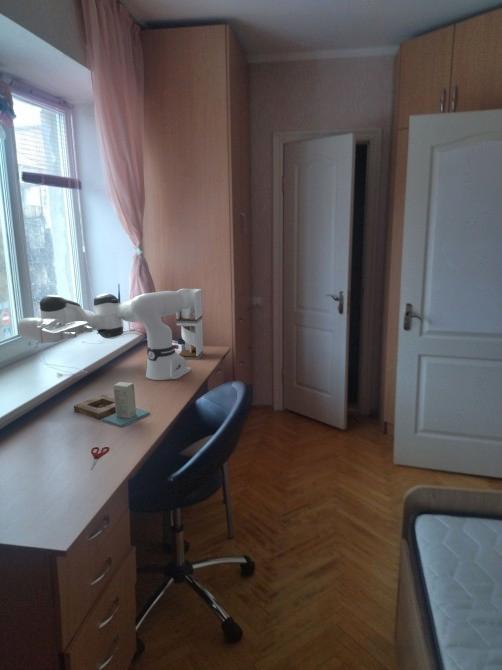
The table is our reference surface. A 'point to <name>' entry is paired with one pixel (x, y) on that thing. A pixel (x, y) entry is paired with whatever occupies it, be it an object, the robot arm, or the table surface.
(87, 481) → the table surface
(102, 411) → the pocket holder
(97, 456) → the scissors
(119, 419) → the teal mat
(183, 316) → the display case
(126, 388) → the skincare box
